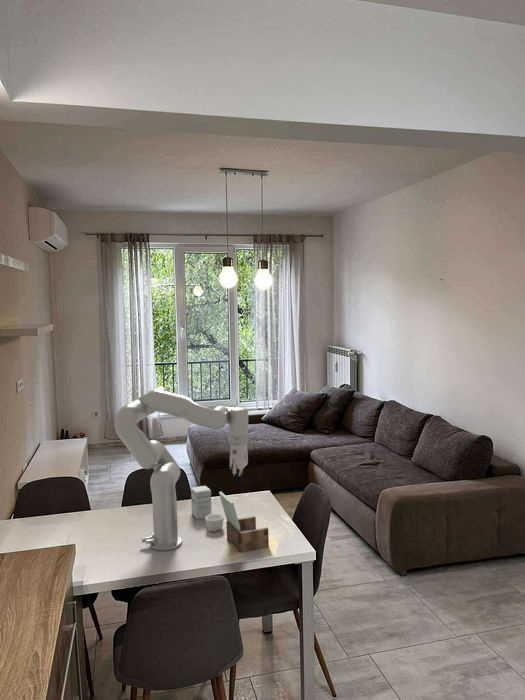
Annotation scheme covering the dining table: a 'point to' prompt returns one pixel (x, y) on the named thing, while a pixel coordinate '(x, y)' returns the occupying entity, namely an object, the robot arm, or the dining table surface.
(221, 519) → the teacup
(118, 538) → the dining table surface
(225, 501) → the cover
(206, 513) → the supplement box
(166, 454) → the robot arm
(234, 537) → the wooden u-shaped stand
